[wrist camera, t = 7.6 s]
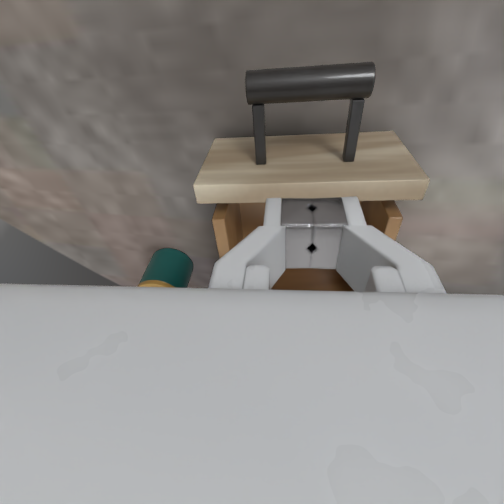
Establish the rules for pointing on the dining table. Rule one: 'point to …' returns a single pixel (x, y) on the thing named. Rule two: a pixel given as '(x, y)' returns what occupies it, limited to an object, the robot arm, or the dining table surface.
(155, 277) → the tea tin
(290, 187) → the drawer
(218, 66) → the dining table surface
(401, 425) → the robot arm
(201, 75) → the dining table surface
